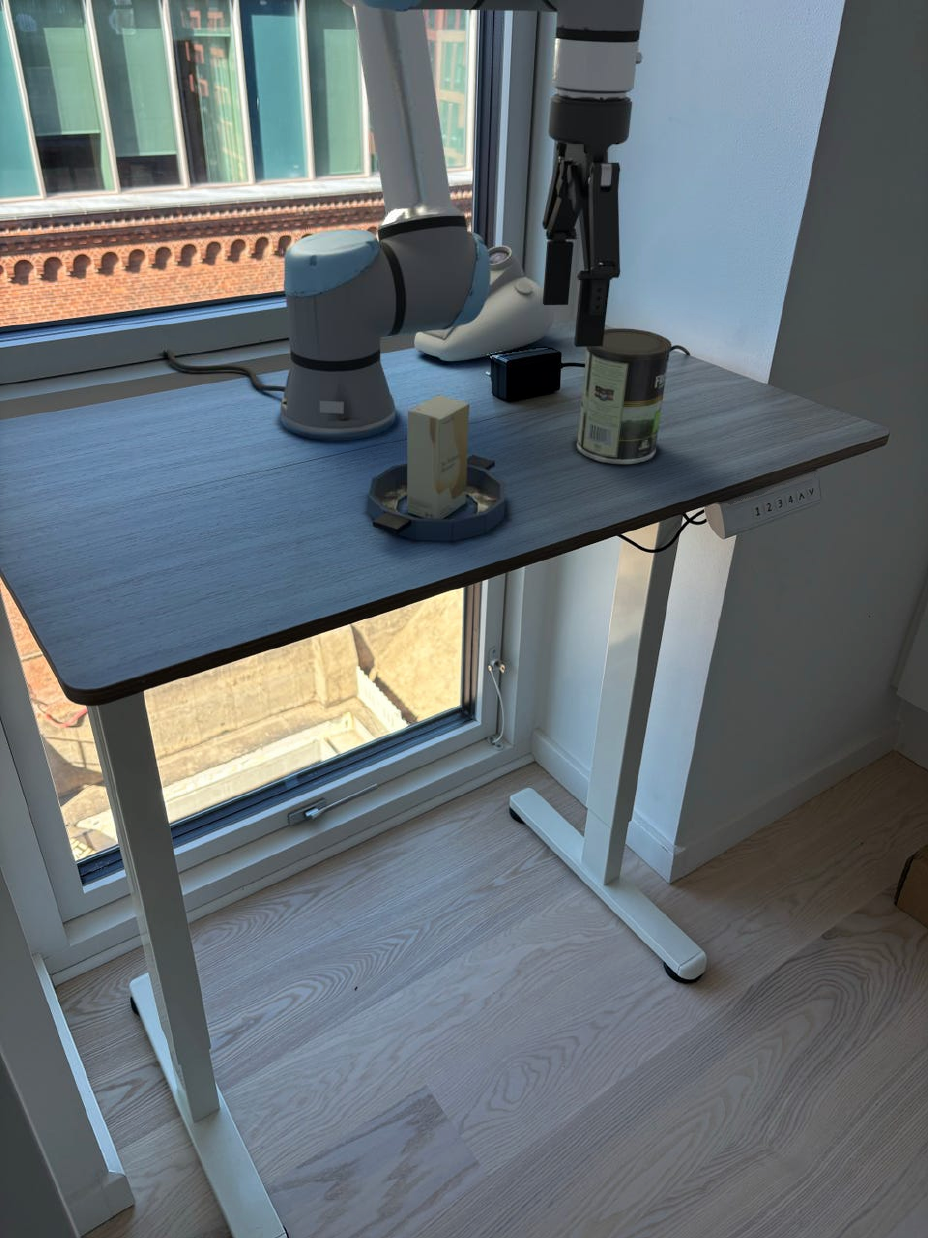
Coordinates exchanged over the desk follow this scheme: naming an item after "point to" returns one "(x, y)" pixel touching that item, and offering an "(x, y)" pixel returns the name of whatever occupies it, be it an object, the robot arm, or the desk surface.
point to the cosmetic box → (437, 457)
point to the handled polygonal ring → (478, 488)
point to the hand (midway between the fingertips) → (570, 323)
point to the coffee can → (623, 396)
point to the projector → (495, 316)
